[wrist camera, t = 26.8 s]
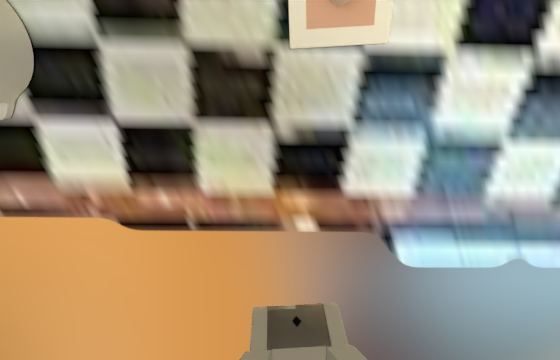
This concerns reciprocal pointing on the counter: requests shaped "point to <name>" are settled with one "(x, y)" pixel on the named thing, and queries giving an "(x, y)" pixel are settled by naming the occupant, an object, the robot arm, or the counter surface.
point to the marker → (340, 2)
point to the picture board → (338, 23)
